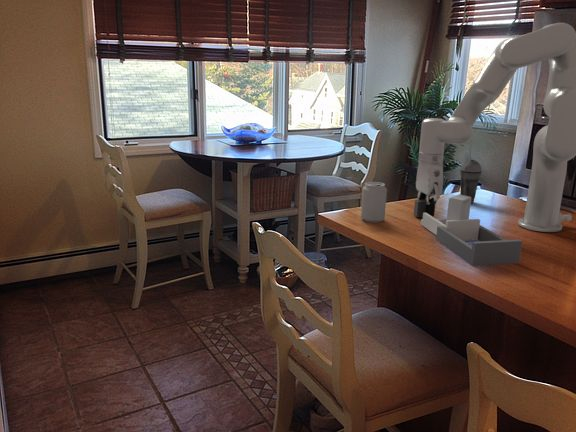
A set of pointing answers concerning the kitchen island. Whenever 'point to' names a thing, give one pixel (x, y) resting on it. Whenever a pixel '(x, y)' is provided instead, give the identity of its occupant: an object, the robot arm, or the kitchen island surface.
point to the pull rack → (448, 223)
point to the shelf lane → (482, 247)
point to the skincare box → (459, 207)
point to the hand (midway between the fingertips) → (425, 213)
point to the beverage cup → (470, 177)
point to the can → (373, 202)
